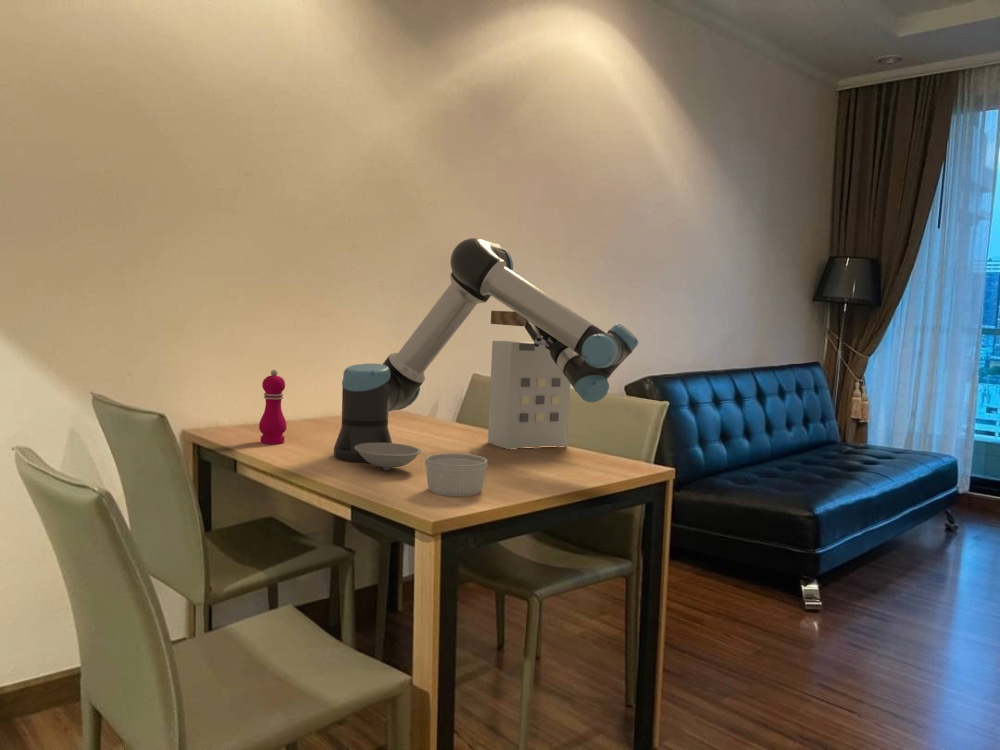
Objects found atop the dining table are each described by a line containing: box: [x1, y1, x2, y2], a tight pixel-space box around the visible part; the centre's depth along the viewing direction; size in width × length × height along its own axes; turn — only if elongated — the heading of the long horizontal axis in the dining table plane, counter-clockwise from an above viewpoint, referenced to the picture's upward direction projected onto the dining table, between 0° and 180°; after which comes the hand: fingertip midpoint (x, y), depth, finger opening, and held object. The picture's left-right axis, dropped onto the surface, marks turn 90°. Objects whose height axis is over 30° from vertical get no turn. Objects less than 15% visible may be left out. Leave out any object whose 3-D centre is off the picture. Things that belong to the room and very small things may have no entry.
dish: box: [354, 442, 422, 471], centre depth 184 cm, size 18×14×5 cm
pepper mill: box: [258, 369, 287, 445], centre depth 211 cm, size 7×7×20 cm
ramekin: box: [424, 452, 488, 498], centre depth 165 cm, size 13×13×7 cm
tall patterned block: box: [487, 340, 571, 450], centre depth 227 cm, size 13×20×30 cm, turn 117°
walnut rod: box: [490, 310, 527, 327], centre depth 221 cm, size 32×4×4 cm, turn 27°
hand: (533, 309), depth 215 cm, fingers closed on walnut rod, 4 cm apart
